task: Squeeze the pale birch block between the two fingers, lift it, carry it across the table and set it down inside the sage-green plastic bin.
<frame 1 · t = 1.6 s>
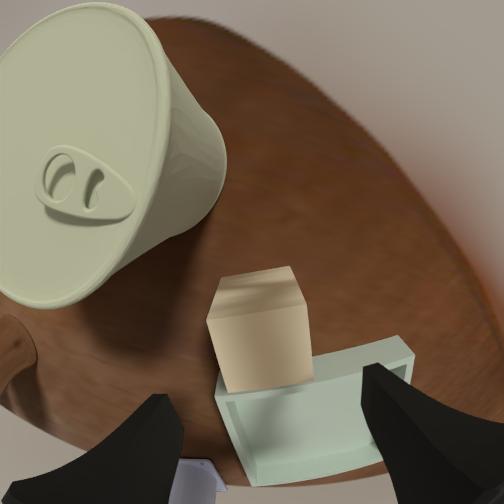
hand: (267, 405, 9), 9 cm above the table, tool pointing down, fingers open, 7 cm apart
bin: (317, 416, 20), on the table
can: (155, 166, 16), on the table
beer glass: (19, 339, 20), on the table
birch block: (261, 303, 18), on the table
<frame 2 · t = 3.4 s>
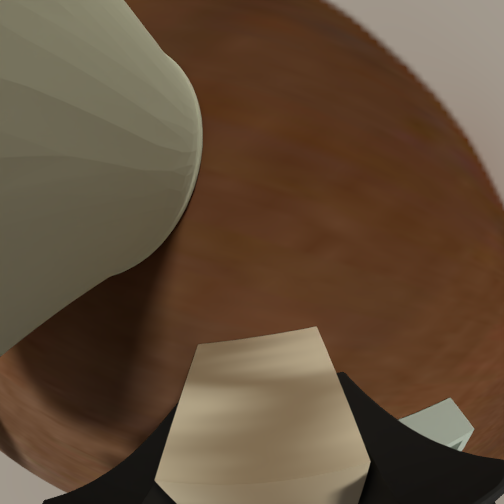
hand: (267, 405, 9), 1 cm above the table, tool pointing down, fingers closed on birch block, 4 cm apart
bin: (334, 489, 13), on the table
can: (86, 154, 8), on the table
birch block: (265, 381, 10), on the table, touching gripper
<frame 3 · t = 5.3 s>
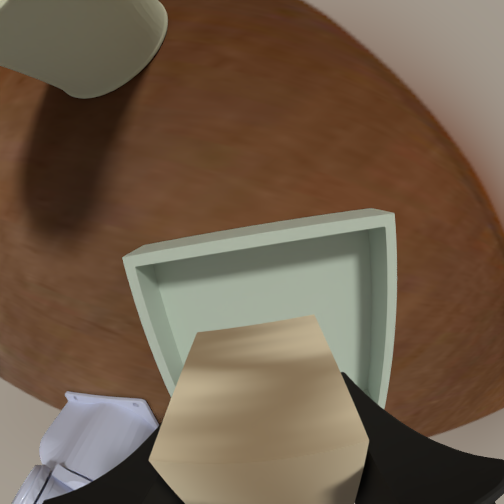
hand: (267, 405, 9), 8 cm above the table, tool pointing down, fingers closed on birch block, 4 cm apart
bin: (274, 333, 17), on the table
can: (108, 43, 13), on the table
birch block: (264, 371, 10), point 7 cm above the table, touching gripper
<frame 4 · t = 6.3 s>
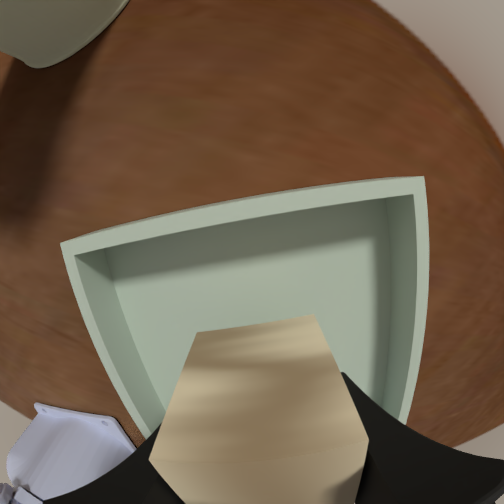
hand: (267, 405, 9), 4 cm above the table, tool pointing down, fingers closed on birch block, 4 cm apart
bin: (263, 343, 13), on the table
can: (75, 10, 9), on the table
birch block: (264, 371, 10), point 3 cm above the table, touching gripper
when the fingers open (4 cm above the table, at t = 7.1 s): birch block drops 2 cm, resting on bin.
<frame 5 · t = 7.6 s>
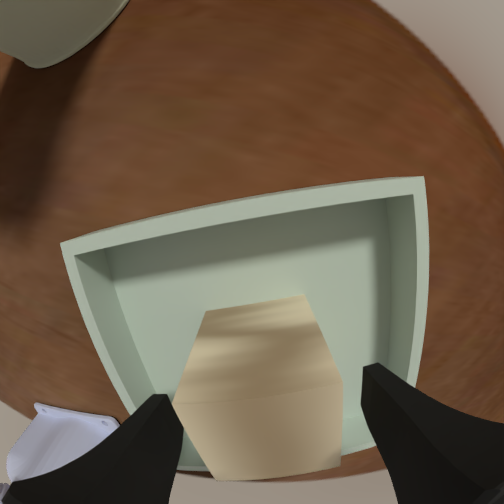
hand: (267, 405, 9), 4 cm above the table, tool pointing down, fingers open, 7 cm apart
bin: (263, 343, 13), on the table
can: (75, 10, 9), on the table
birch block: (263, 345, 12), point 1 cm above the table, touching bin
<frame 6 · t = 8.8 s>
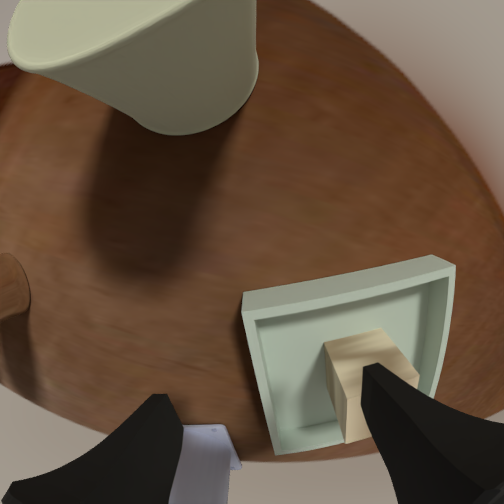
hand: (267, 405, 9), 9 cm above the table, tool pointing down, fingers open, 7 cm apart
bin: (351, 358, 19), on the table
can: (187, 72, 15), on the table
beer glass: (12, 283, 18), on the table
birch block: (353, 359, 18), point 1 cm above the table, touching bin
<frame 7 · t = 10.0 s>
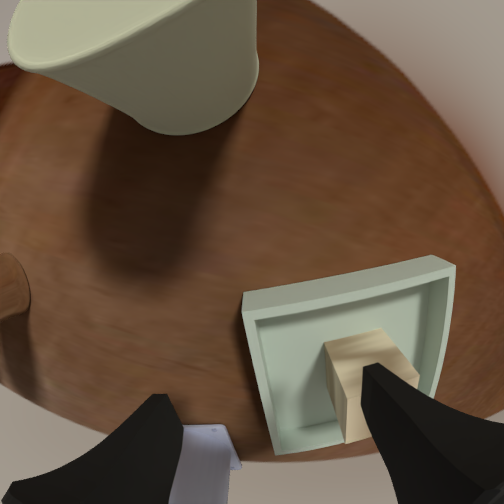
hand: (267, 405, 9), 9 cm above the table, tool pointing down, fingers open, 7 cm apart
bin: (351, 358, 19), on the table
can: (187, 72, 15), on the table
beer glass: (12, 282, 18), on the table
birch block: (353, 359, 18), point 1 cm above the table, touching bin
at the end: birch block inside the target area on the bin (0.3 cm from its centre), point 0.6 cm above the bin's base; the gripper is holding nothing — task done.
